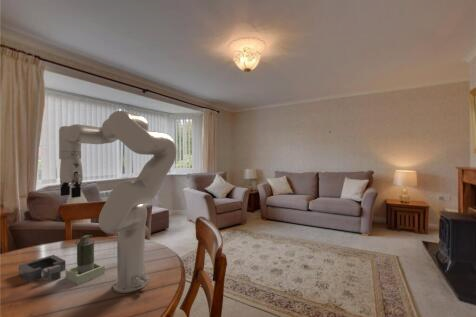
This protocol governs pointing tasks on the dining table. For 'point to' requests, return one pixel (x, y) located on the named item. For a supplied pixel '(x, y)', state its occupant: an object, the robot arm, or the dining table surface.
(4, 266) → the dining table surface
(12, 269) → the dining table surface
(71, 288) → the dining table surface
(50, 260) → the socket
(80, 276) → the tray
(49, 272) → the grey stepped block
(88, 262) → the grenade
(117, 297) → the dining table surface
